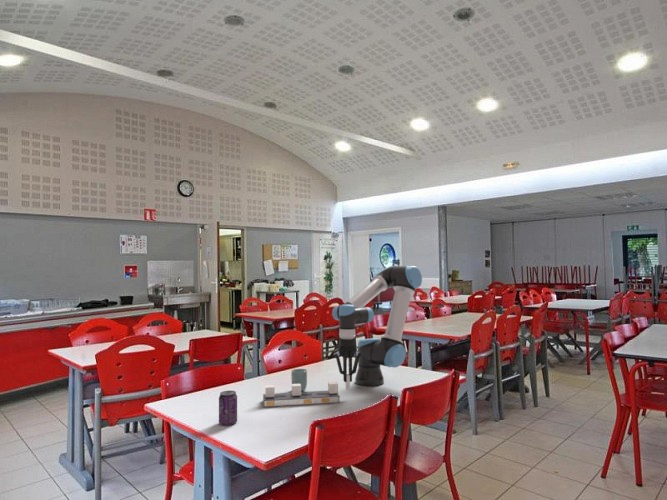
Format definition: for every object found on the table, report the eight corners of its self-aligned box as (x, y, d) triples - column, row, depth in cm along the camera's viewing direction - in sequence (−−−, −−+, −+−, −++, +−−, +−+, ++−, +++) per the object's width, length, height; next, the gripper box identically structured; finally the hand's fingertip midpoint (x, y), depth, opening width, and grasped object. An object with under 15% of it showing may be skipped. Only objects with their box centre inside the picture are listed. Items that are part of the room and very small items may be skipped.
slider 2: (300, 392, 207) (300, 383, 207) (301, 395, 203) (301, 385, 203) (291, 393, 206) (291, 384, 206) (292, 395, 202) (292, 386, 203)
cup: (304, 393, 219) (304, 372, 220) (289, 392, 221) (289, 371, 221) (308, 388, 227) (308, 368, 227) (294, 388, 228) (293, 368, 229)
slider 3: (336, 390, 210) (336, 381, 210) (338, 393, 206) (338, 383, 206) (328, 391, 209) (328, 382, 209) (329, 393, 205) (329, 384, 205)
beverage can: (220, 420, 180) (220, 390, 181) (238, 419, 181) (238, 389, 181) (217, 426, 173) (217, 395, 174) (236, 426, 174) (235, 394, 174)
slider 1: (274, 394, 205) (274, 384, 205) (274, 396, 201) (274, 387, 201) (265, 394, 204) (265, 385, 204) (265, 397, 200) (265, 387, 201)
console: (335, 396, 213) (335, 389, 213) (339, 402, 202) (339, 395, 202) (263, 400, 207) (263, 393, 207) (263, 407, 197) (263, 400, 197)
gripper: (359, 336, 214) (359, 386, 213) (332, 337, 212) (332, 387, 211) (362, 338, 207) (363, 390, 206) (335, 339, 205) (335, 391, 204)
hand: (347, 388), depth 209 cm, fingers closed
